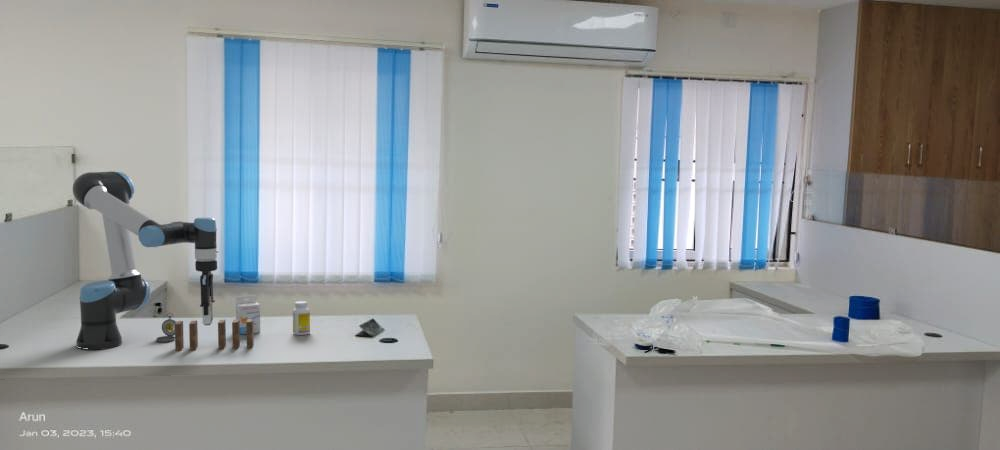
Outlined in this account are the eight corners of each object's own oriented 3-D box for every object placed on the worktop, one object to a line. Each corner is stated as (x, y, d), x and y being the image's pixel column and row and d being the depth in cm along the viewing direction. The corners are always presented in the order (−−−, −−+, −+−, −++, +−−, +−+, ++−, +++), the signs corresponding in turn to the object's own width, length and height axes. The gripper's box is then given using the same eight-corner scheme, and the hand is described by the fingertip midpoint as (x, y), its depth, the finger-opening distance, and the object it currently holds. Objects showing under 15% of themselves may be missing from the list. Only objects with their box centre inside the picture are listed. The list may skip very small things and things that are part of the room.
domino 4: (232, 348, 292) (232, 322, 291) (234, 345, 297) (233, 319, 296) (238, 348, 293) (237, 322, 292) (239, 345, 298) (239, 319, 297)
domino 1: (175, 350, 288) (174, 324, 287) (178, 347, 293) (177, 321, 292) (181, 350, 289) (180, 323, 288) (183, 347, 294) (183, 320, 293)
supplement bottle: (313, 332, 319) (313, 301, 318) (302, 336, 313) (302, 304, 312) (300, 331, 322) (299, 300, 320) (289, 334, 316) (289, 302, 314)
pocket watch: (157, 343, 299) (156, 317, 298) (155, 338, 306) (154, 313, 305) (180, 341, 302) (179, 315, 301) (178, 336, 310) (177, 311, 309)
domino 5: (246, 348, 293) (246, 322, 292) (248, 345, 298) (247, 319, 297) (252, 348, 294) (251, 321, 293) (253, 344, 299) (253, 318, 298)
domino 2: (189, 350, 289) (189, 323, 288) (192, 346, 294) (191, 320, 293) (195, 350, 290) (194, 323, 289) (197, 346, 295) (197, 320, 294)
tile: (204, 325, 289) (203, 298, 288) (206, 322, 294) (205, 296, 293) (209, 325, 290) (209, 298, 289) (212, 322, 295) (211, 295, 294)
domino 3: (218, 349, 291) (217, 322, 290) (220, 345, 296) (219, 319, 295) (224, 349, 292) (223, 322, 291) (225, 345, 297) (225, 319, 296)
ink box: (239, 335, 313) (238, 298, 312) (236, 332, 318) (235, 296, 316) (260, 332, 318) (260, 296, 317) (257, 330, 322) (256, 294, 321)
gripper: (213, 263, 282) (214, 327, 284) (220, 256, 299) (221, 316, 302) (190, 263, 280) (192, 327, 282) (199, 256, 298) (201, 317, 300)
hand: (207, 321), depth 292 cm, fingers closed on tile, 5 cm apart
